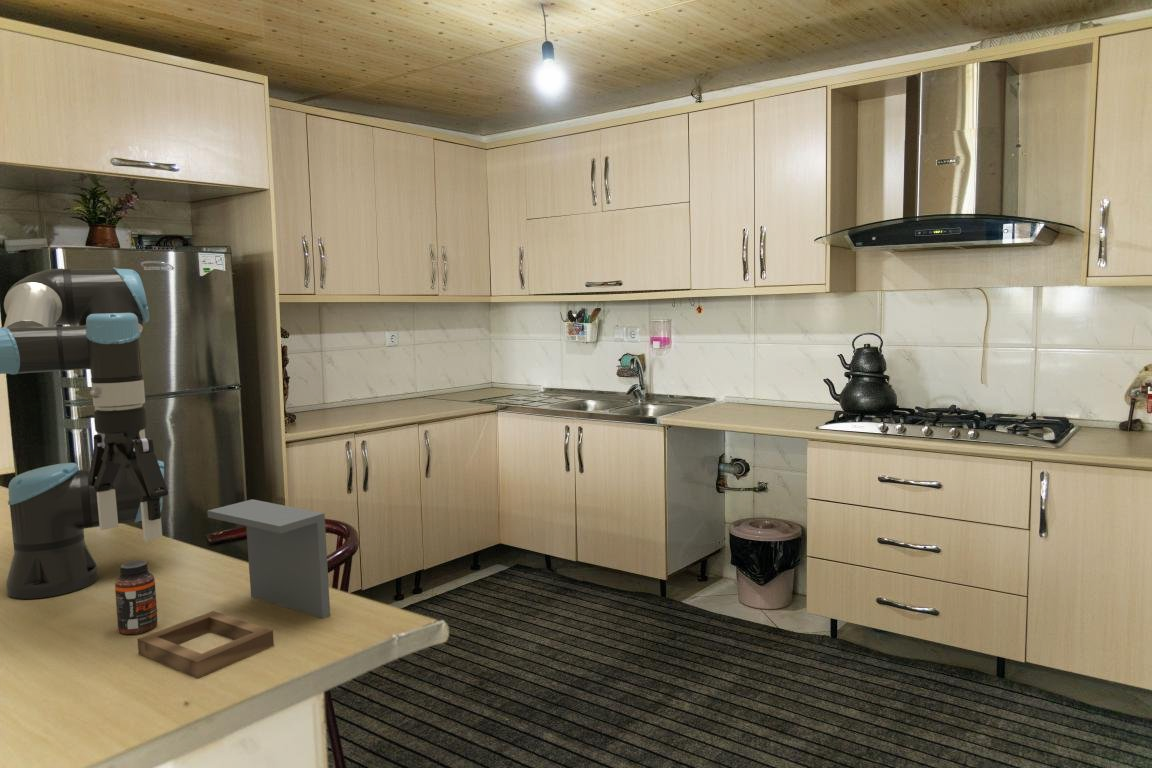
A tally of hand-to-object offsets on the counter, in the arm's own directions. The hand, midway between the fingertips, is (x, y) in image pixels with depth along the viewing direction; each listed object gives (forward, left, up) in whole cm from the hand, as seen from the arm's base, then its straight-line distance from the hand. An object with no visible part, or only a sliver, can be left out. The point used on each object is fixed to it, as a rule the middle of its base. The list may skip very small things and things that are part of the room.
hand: (130, 533), depth 137 cm
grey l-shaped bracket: (+14, +16, -17) cm, 27 cm away
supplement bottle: (0, 0, -17) cm, 17 cm away
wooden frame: (+18, +1, -17) cm, 24 cm away
